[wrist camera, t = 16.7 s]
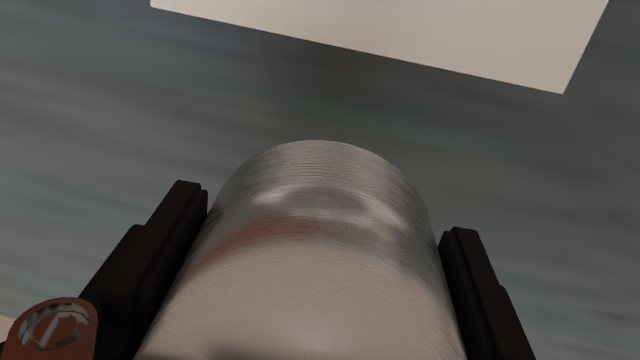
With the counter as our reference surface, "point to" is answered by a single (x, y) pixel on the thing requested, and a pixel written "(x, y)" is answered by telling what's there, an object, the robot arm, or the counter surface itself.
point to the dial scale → (431, 31)
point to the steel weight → (310, 267)
